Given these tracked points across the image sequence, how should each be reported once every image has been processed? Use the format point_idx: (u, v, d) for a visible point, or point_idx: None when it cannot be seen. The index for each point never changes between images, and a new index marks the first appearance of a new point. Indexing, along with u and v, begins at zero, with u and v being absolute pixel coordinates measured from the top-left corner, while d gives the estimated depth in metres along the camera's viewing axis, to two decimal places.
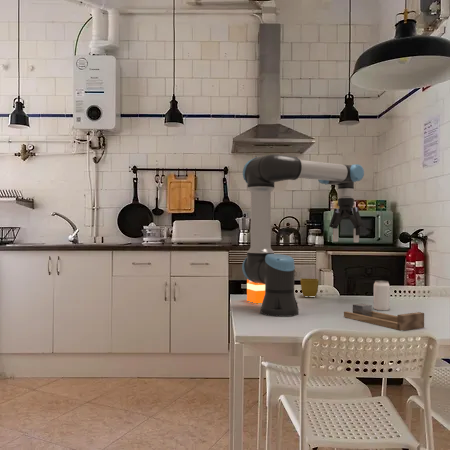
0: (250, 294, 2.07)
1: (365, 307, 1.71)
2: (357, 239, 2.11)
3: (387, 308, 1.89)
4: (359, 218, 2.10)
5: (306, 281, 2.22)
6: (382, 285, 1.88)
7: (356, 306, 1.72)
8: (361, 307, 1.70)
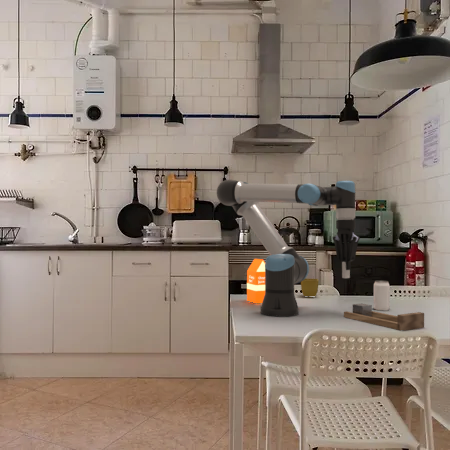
0: (250, 294, 2.07)
1: (365, 307, 1.71)
2: (348, 274, 1.81)
3: (387, 308, 1.89)
4: (354, 250, 1.77)
5: (306, 281, 2.22)
6: (381, 285, 1.88)
7: (356, 306, 1.72)
8: (361, 307, 1.70)
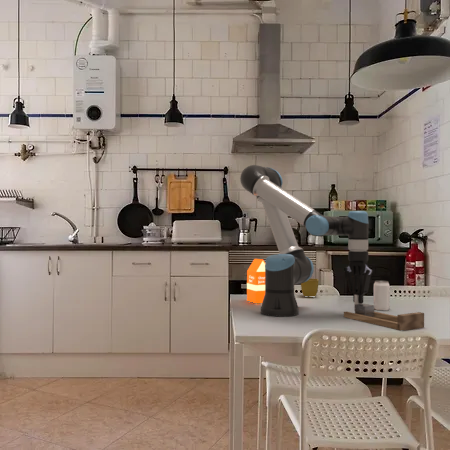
0: (250, 294, 2.07)
1: (367, 307, 1.70)
2: None
3: (387, 308, 1.89)
4: (367, 284, 1.71)
5: (306, 281, 2.22)
6: (382, 285, 1.88)
7: (358, 306, 1.71)
8: (363, 307, 1.69)
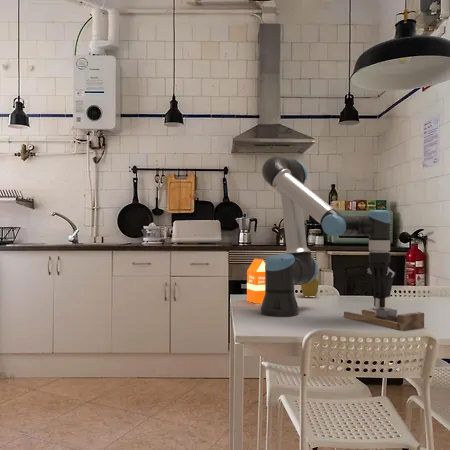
0: (250, 294, 2.07)
1: (390, 312, 1.61)
2: None
3: None
4: (389, 287, 1.62)
5: None
6: None
7: (380, 311, 1.62)
8: (386, 312, 1.60)
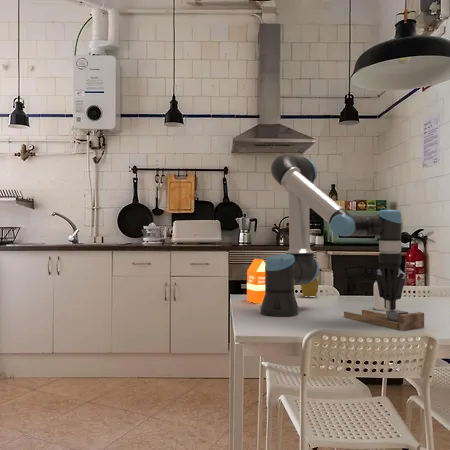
0: (250, 294, 2.07)
1: None
2: None
3: None
4: (400, 289, 1.58)
5: None
6: None
7: (391, 313, 1.58)
8: (397, 314, 1.56)
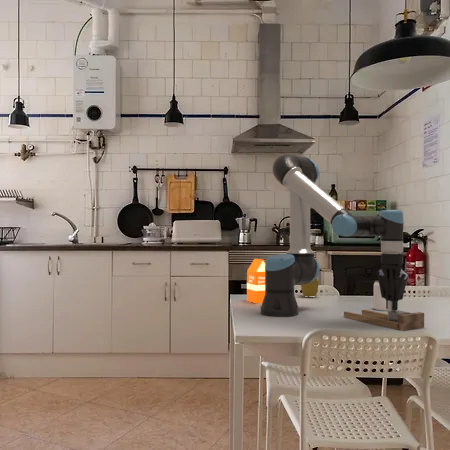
0: (250, 294, 2.07)
1: None
2: None
3: None
4: (402, 289, 1.57)
5: None
6: None
7: (393, 313, 1.57)
8: None
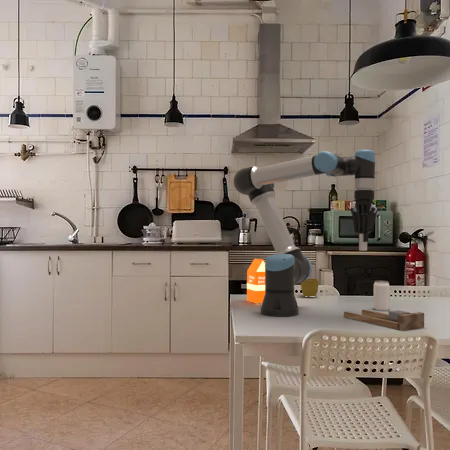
0: (250, 294, 2.07)
1: None
2: (365, 247, 1.75)
3: (387, 308, 1.89)
4: (372, 222, 1.72)
5: (306, 281, 2.22)
6: (381, 285, 1.88)
7: (393, 313, 1.57)
8: None
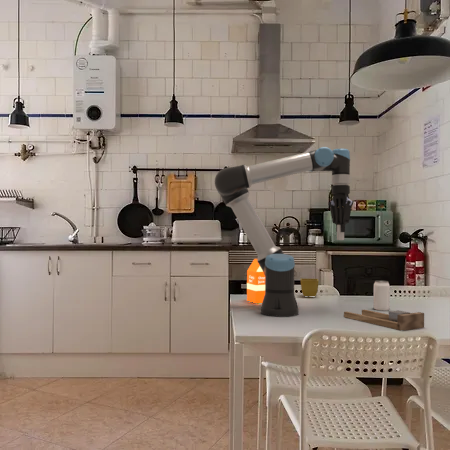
0: (250, 294, 2.07)
1: None
2: (342, 236, 1.93)
3: (387, 308, 1.89)
4: (348, 214, 1.90)
5: (306, 281, 2.22)
6: (382, 285, 1.88)
7: (393, 313, 1.57)
8: None
